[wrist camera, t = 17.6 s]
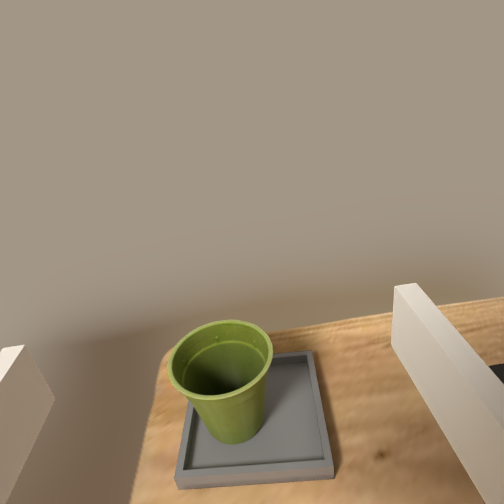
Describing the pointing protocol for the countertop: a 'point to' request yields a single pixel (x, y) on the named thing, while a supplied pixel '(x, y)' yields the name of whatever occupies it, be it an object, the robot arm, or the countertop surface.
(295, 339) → the countertop surface
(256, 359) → the plant pot
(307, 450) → the tray
